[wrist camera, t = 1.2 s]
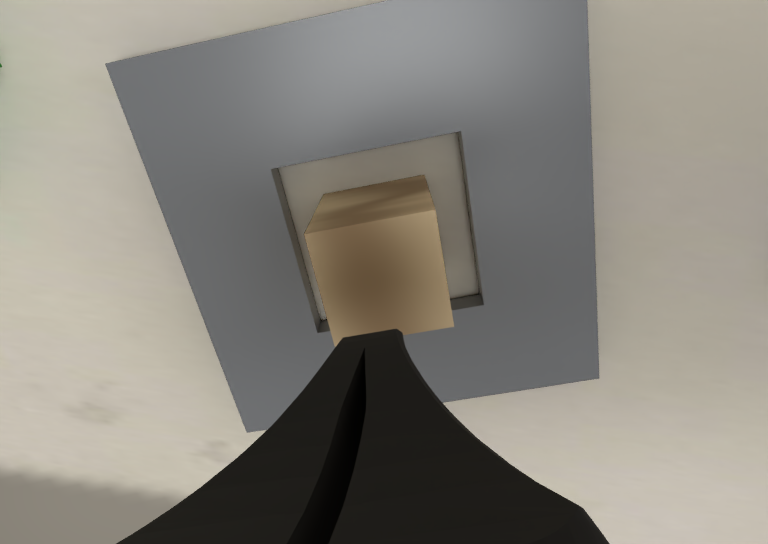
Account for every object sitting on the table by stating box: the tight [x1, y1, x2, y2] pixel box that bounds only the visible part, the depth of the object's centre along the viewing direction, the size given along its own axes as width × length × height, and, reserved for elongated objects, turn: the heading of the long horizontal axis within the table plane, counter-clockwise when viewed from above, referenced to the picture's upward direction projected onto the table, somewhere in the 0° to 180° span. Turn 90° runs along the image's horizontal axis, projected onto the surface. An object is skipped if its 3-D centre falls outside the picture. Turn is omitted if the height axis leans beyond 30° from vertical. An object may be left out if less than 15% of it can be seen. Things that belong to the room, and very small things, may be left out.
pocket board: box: [105, 0, 599, 433], centre depth 19 cm, size 16×16×1 cm
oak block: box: [304, 175, 454, 347], centre depth 18 cm, size 4×4×5 cm
